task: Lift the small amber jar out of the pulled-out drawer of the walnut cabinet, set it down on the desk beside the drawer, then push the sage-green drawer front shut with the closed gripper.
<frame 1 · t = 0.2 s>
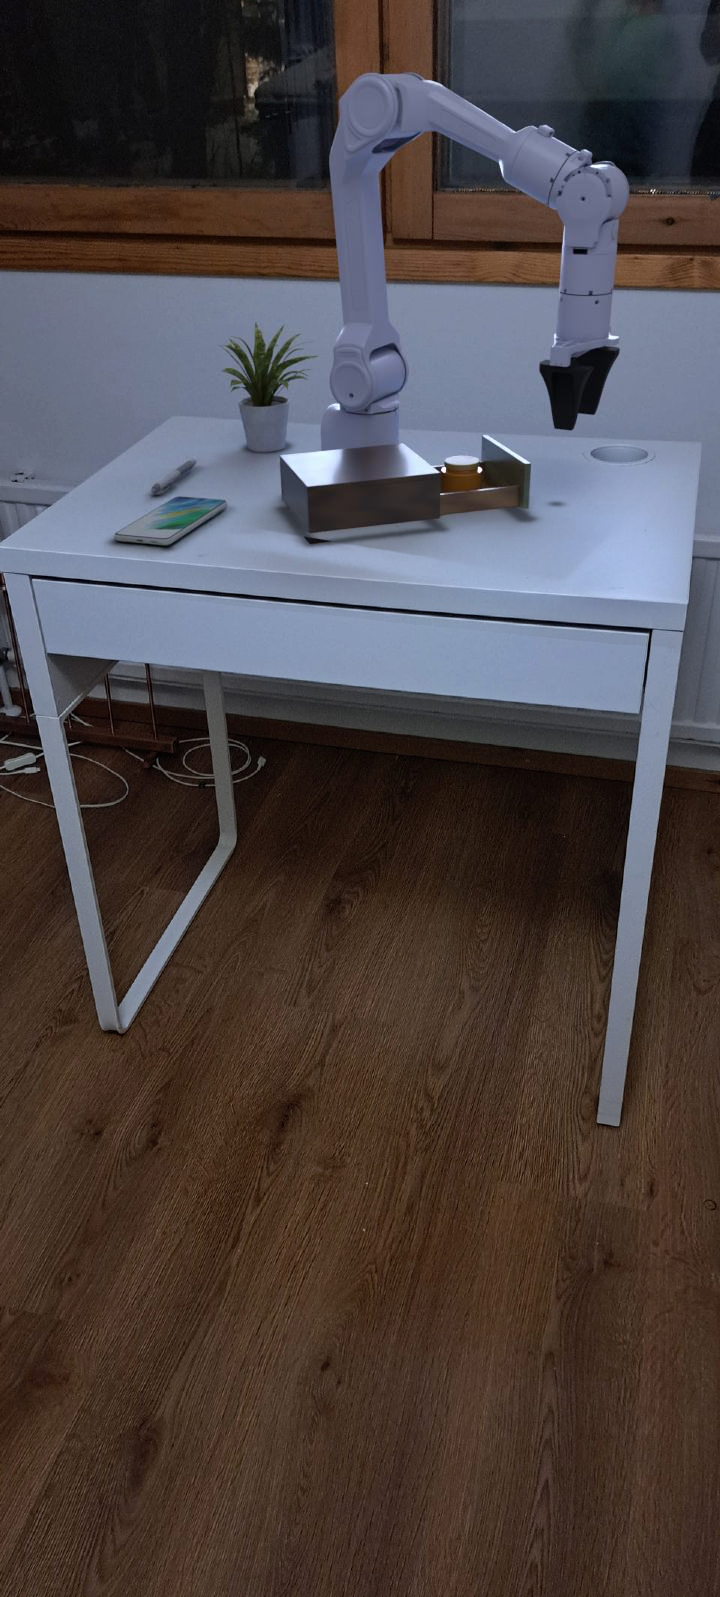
hand: (575, 421, 131), 10 cm above the table, tool pointing down, fingers open, 7 cm apart
smartphone: (173, 525, 134), on the table
jar: (460, 496, 137), point 1 cm above the table, touching drawer
cabinet: (358, 518, 134), on the table
house plant: (264, 450, 161), on the table
drawer: (452, 480, 135), point 3 cm above the table, slide at 10.0 cm, touching jar
pen: (175, 483, 148), on the table
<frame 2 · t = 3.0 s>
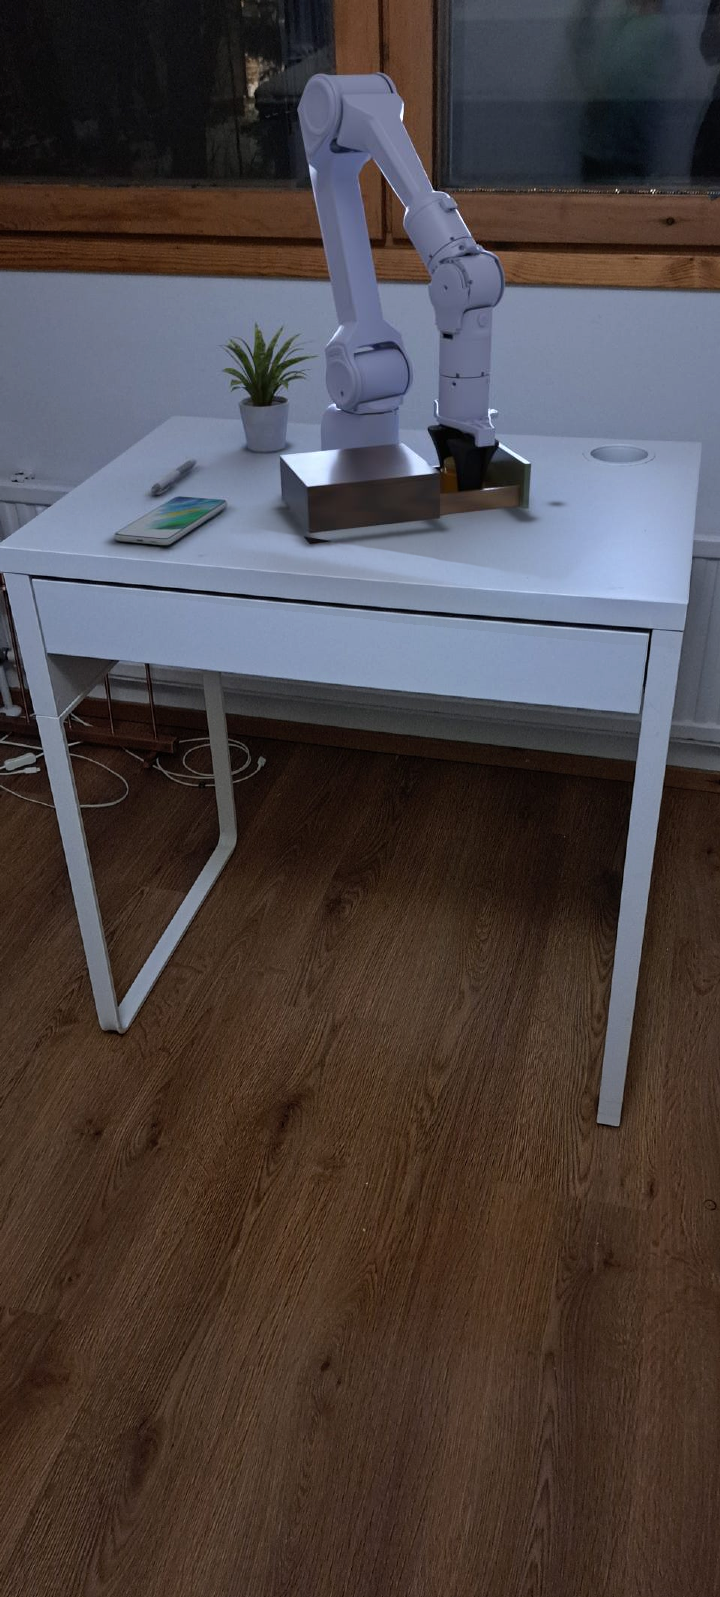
hand: (461, 493, 136), 2 cm above the table, tool pointing down, fingers closed on jar, 5 cm apart
jar: (460, 496, 137), point 1 cm above the table, touching drawer, gripper
everything else where it was.
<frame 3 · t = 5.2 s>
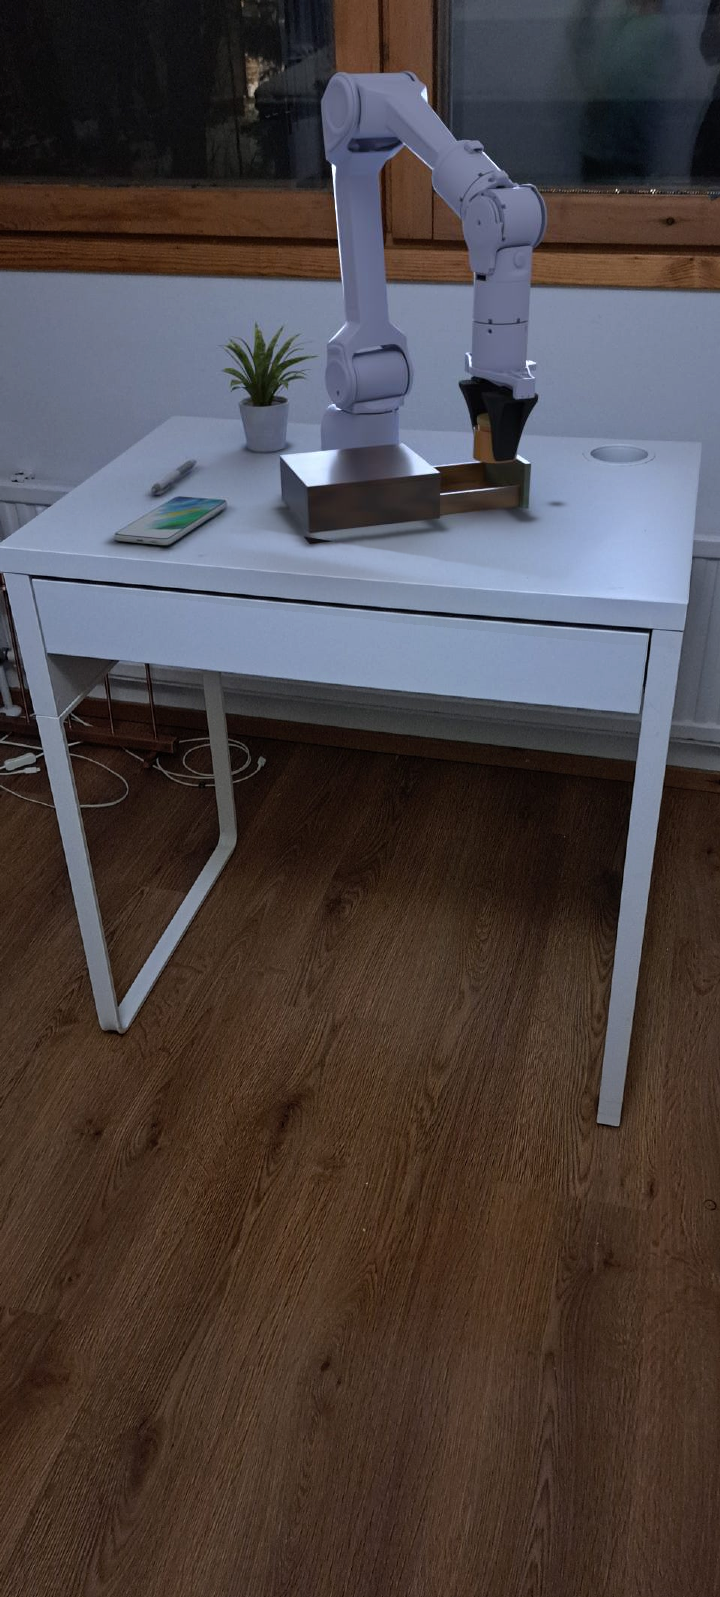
hand: (494, 453, 126), 9 cm above the table, tool pointing down, fingers closed on jar, 5 cm apart
jar: (494, 457, 126), point 8 cm above the table, touching gripper
drawer: (452, 480, 135), point 3 cm above the table, slide at 10.0 cm
everything else where it was.
when the fingers open (0 cm above the table, at t = 7.7 s): jar stays where it is, on the table.
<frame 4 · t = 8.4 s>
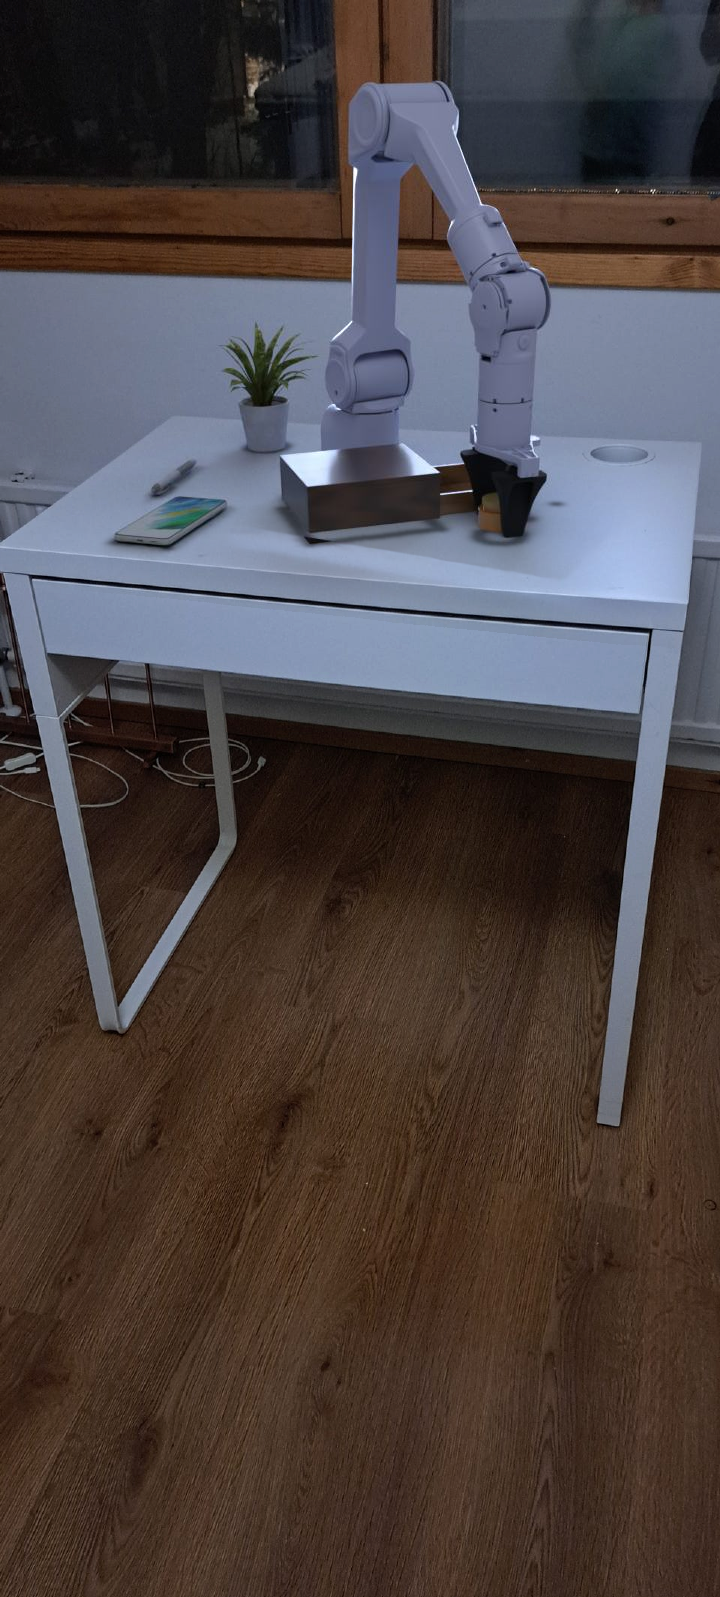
hand: (499, 525, 128), 1 cm above the table, tool pointing down, fingers open, 7 cm apart
jar: (499, 536, 129), on the table
everything else where it was.
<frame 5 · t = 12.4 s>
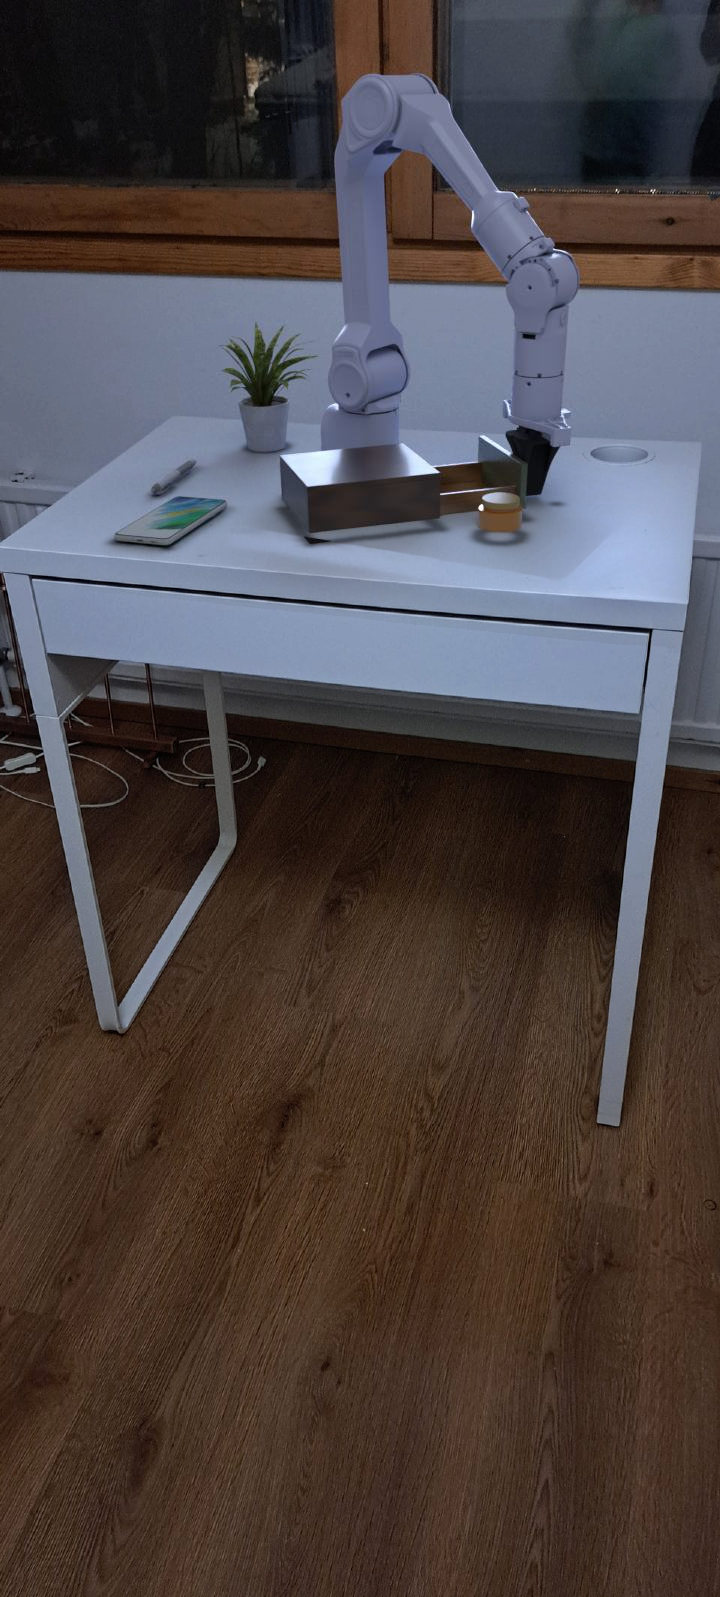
hand: (530, 493, 136), 2 cm above the table, tool pointing down, fingers closed, pressing on drawer
drawer: (449, 480, 135), point 3 cm above the table, slide at 9.6 cm, touching gripper
everything else where it was.
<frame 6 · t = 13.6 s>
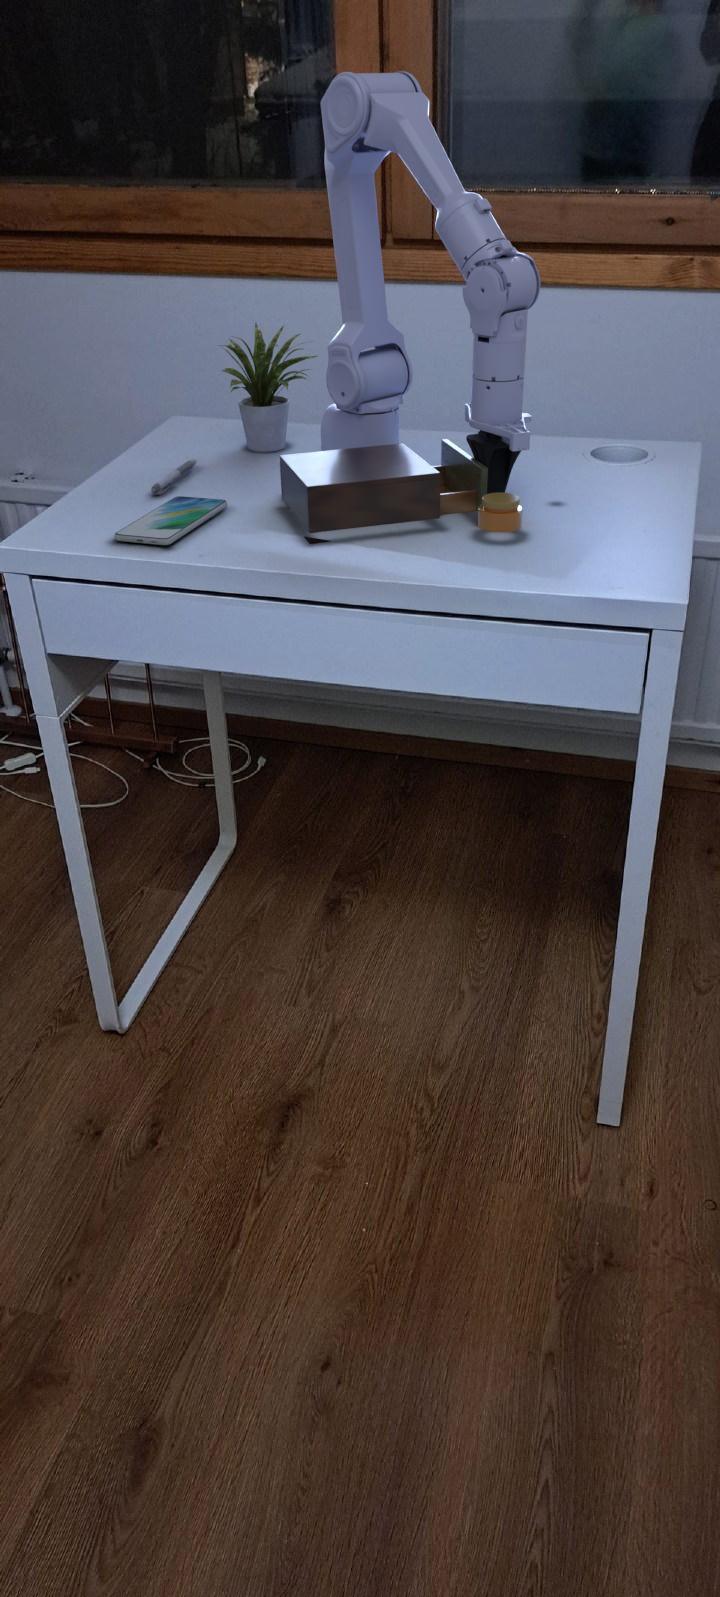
hand: (492, 498, 135), 2 cm above the table, tool pointing down, fingers closed, pressing on drawer
drawer: (410, 484, 134), point 3 cm above the table, slide at 4.8 cm, touching gripper
everything else where it was.
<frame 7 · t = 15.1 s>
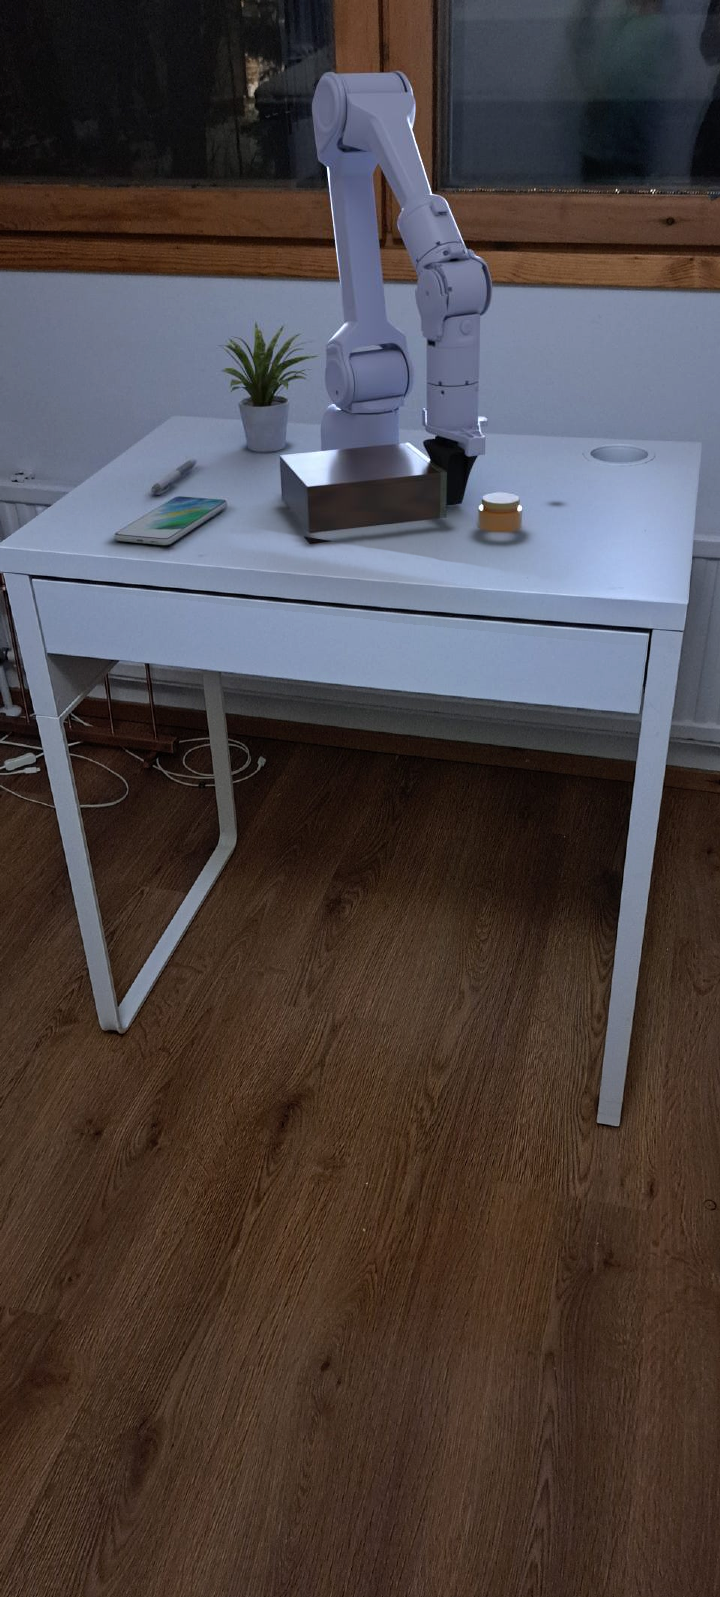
hand: (451, 503, 134), 2 cm above the table, tool pointing down, fingers closed, pressing on drawer
drawer: (370, 489, 133), point 3 cm above the table, slide at -0.1 cm, touching cabinet, gripper
everything else where it was.
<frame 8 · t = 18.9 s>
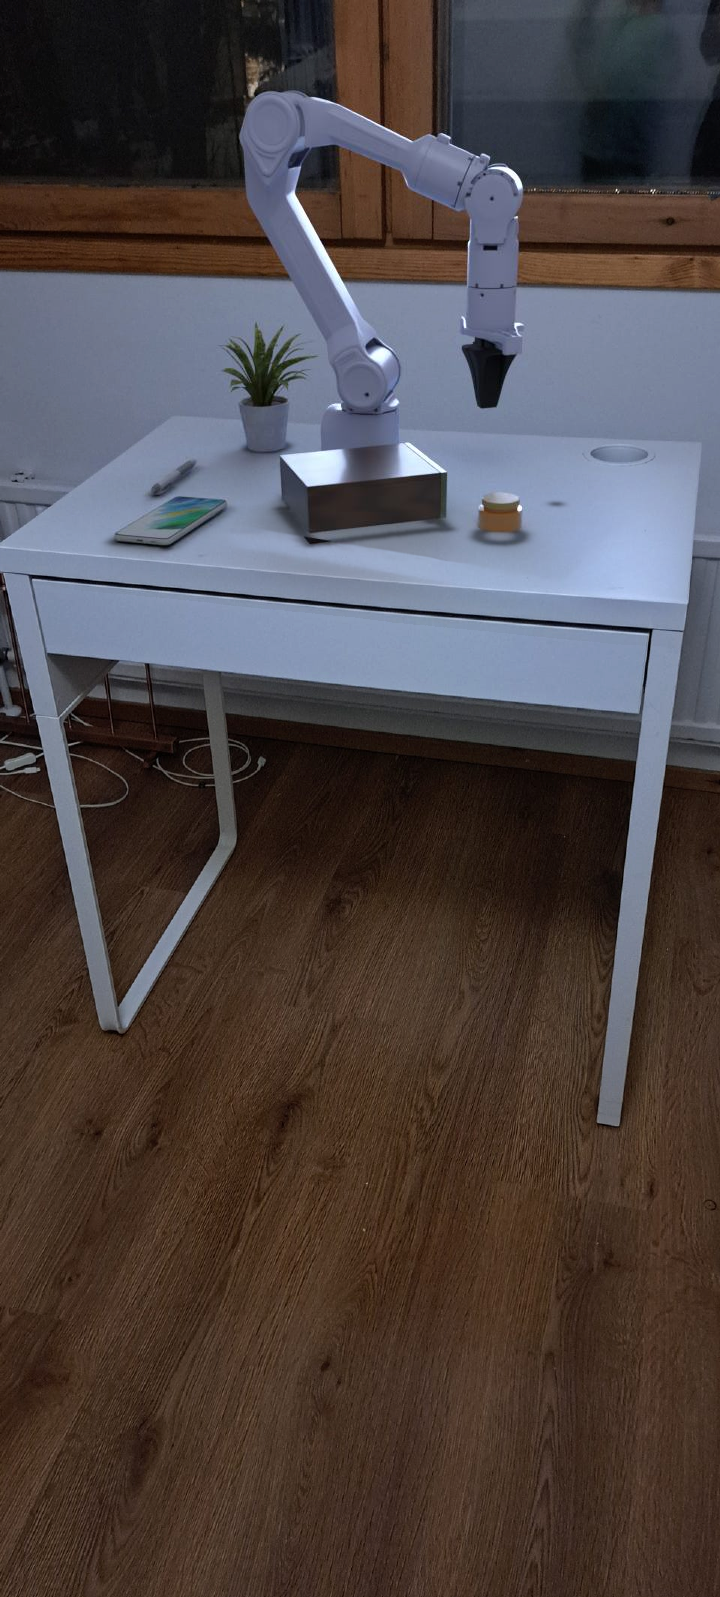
hand: (487, 406, 140), 9 cm above the table, tool pointing down, fingers closed
drawer: (370, 489, 133), point 3 cm above the table, slide at 0.0 cm
everything else where it was.
at the end: jar 0.0 cm from the target spot, on the table; jar tilted 0°; drawer slide at 0.0 cm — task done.
